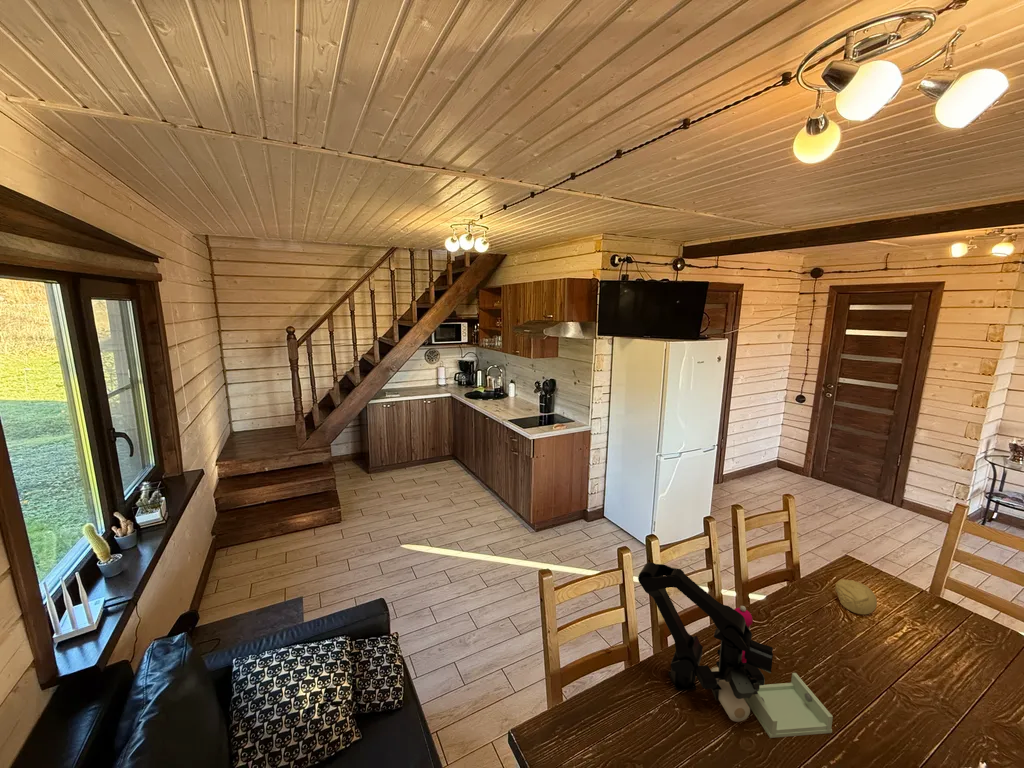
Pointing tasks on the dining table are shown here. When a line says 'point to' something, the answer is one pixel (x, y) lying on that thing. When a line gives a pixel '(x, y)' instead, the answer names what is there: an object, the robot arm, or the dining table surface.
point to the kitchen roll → (732, 702)
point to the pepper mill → (748, 621)
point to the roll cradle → (790, 709)
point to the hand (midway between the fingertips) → (726, 698)
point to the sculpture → (856, 596)
